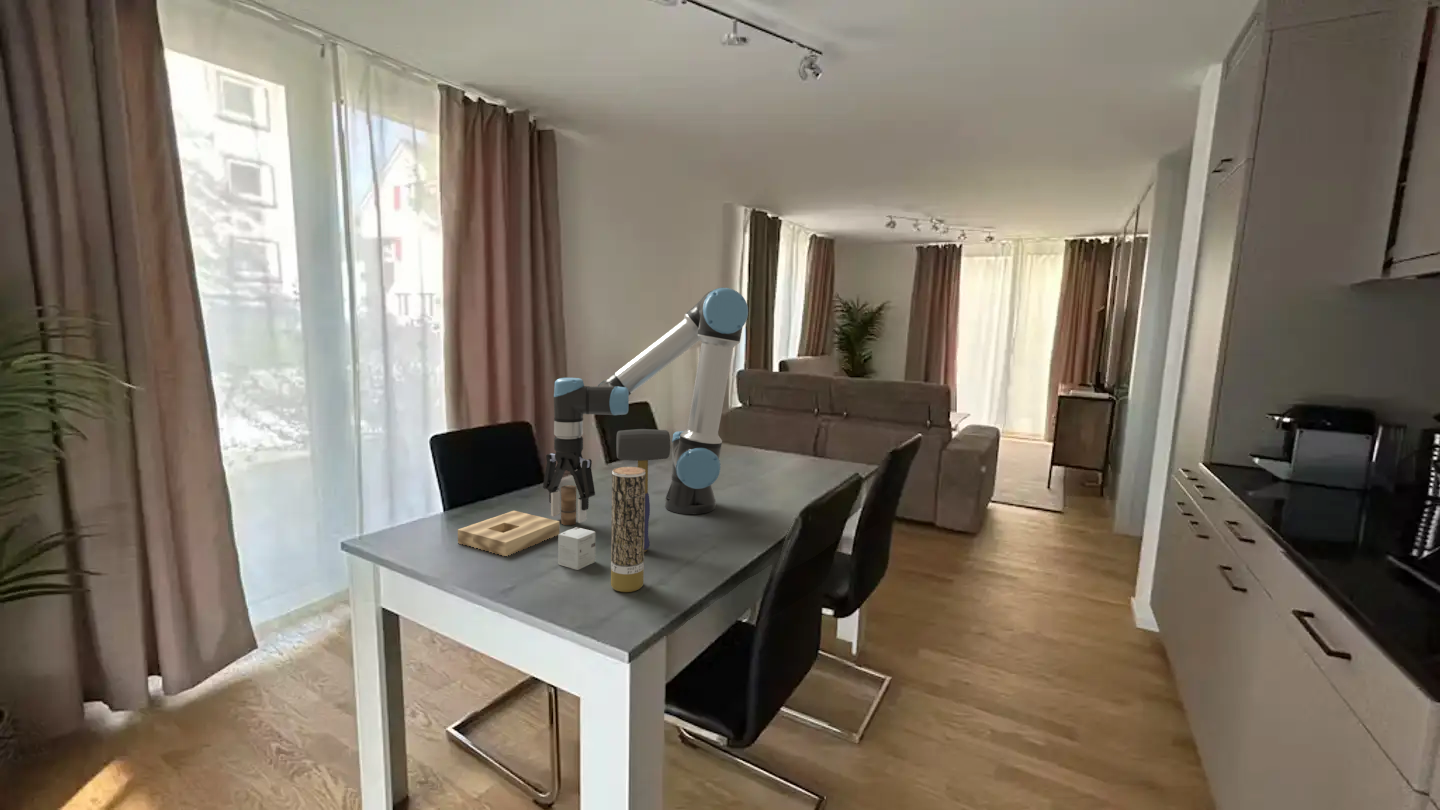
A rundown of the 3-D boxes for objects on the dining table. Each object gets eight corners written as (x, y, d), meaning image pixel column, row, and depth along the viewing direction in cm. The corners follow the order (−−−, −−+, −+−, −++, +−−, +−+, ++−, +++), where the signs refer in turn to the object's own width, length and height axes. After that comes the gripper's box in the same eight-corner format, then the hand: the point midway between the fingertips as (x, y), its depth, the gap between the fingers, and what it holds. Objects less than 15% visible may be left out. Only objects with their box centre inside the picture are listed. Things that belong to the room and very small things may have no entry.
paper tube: (644, 580, 134) (646, 467, 131) (641, 594, 128) (644, 475, 124) (613, 579, 134) (614, 466, 131) (608, 593, 127) (609, 474, 124)
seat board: (559, 534, 160) (559, 521, 160) (505, 557, 144) (505, 542, 144) (513, 523, 167) (513, 510, 167) (457, 543, 152) (457, 529, 151)
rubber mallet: (616, 558, 146) (618, 432, 141) (613, 546, 153) (615, 426, 149) (669, 555, 149) (672, 431, 145) (664, 544, 156) (666, 426, 152)
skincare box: (577, 570, 138) (578, 539, 137) (557, 564, 141) (557, 533, 140) (595, 562, 143) (596, 531, 142) (575, 556, 146) (575, 526, 145)
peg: (579, 522, 170) (579, 486, 168) (569, 526, 166) (569, 490, 165) (567, 519, 172) (568, 484, 170) (557, 523, 168) (557, 487, 167)
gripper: (609, 438, 164) (609, 521, 167) (548, 429, 174) (548, 507, 177) (591, 443, 157) (590, 529, 161) (528, 433, 167) (529, 514, 170)
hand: (568, 518), depth 169 cm, fingers open, 9 cm apart
